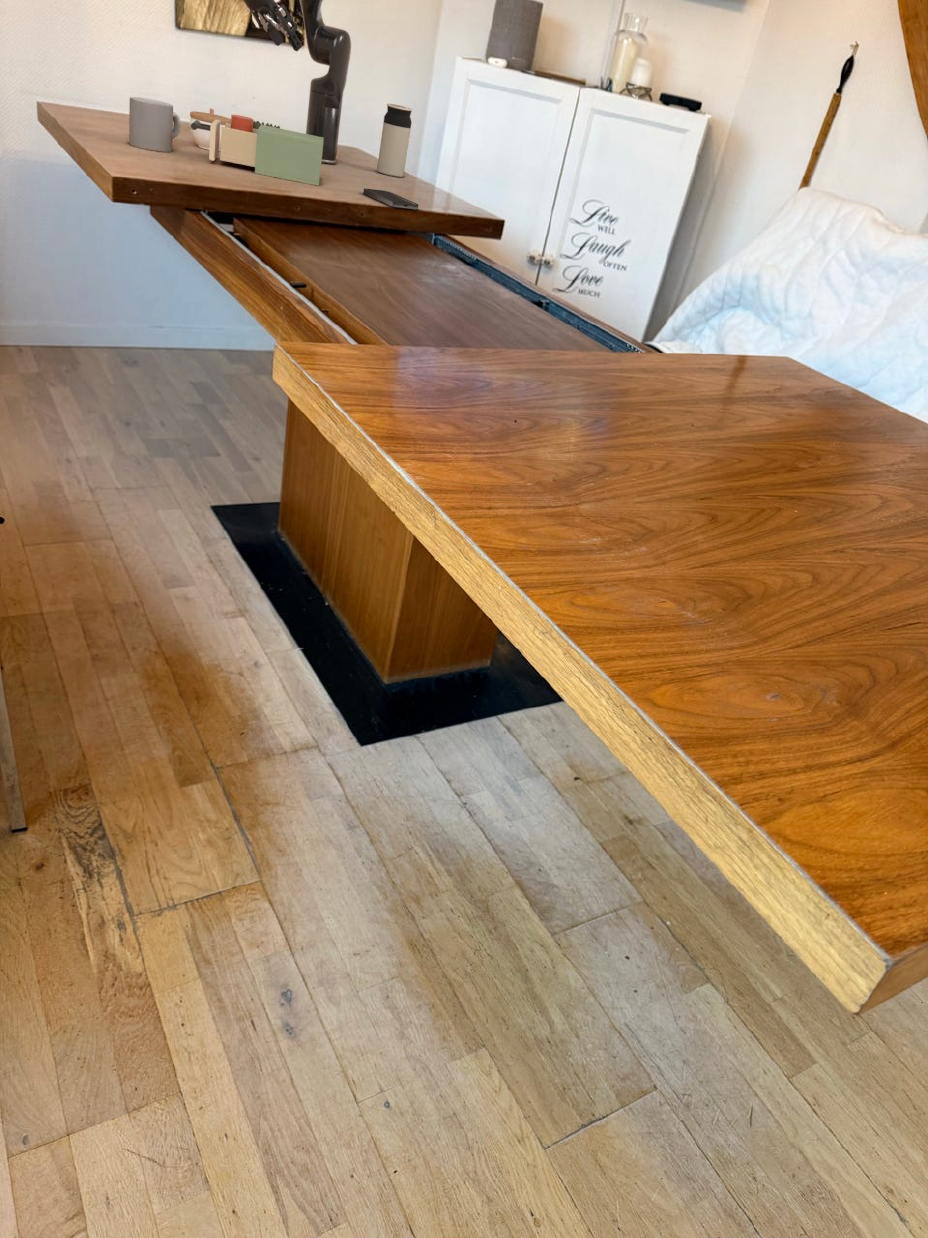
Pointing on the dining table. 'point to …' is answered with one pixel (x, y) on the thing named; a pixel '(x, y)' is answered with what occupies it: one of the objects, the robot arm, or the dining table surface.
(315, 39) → the robot arm
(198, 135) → the lidded white pot
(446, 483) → the dining table surface
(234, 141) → the drawer
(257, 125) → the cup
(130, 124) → the coffee mug
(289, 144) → the cabinet
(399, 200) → the phone
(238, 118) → the tea tin
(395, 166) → the travel mug
